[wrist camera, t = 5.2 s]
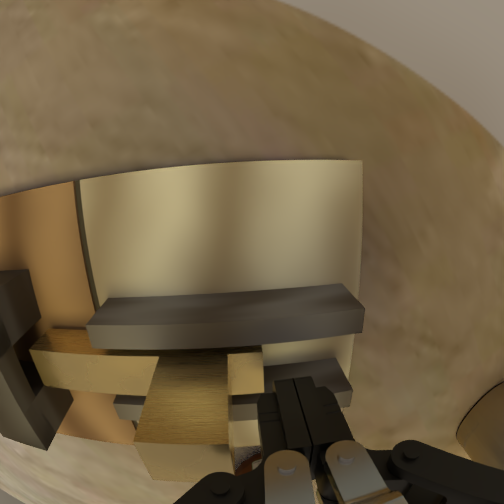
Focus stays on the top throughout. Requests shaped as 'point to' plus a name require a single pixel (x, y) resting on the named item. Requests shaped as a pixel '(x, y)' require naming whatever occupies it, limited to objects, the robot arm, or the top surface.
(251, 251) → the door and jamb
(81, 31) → the top surface
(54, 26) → the top surface
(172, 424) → the wooden t-shaped block
